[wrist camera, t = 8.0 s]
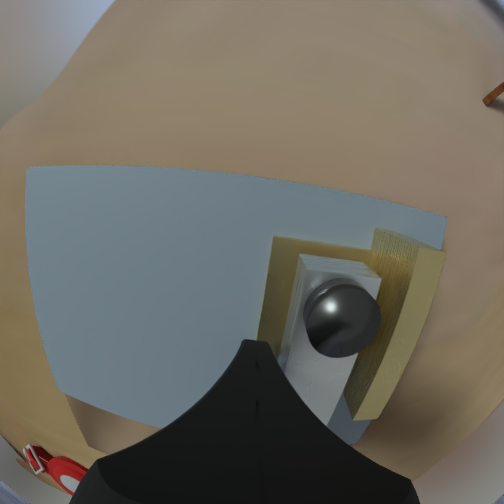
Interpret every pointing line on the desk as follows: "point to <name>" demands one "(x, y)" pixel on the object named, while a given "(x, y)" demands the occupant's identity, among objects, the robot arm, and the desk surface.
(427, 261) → the brass keeper
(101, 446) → the jamb board
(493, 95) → the glasses
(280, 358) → the bar
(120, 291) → the door panel
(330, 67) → the desk surface
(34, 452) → the tracker holder
